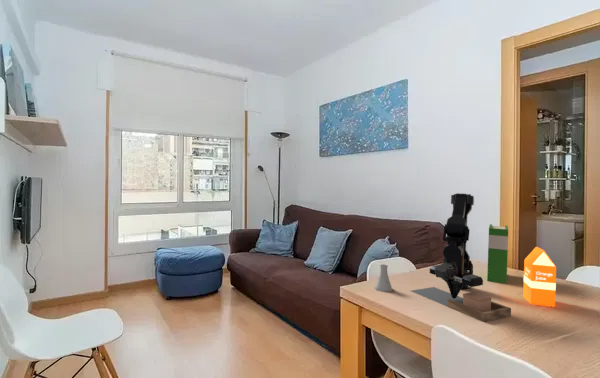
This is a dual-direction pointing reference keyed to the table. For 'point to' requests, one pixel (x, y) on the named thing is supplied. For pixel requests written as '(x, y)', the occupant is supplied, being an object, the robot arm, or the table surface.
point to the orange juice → (539, 279)
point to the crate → (477, 301)
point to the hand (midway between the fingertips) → (454, 298)
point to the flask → (383, 280)
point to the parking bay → (495, 312)
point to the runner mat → (437, 295)
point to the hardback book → (497, 254)
